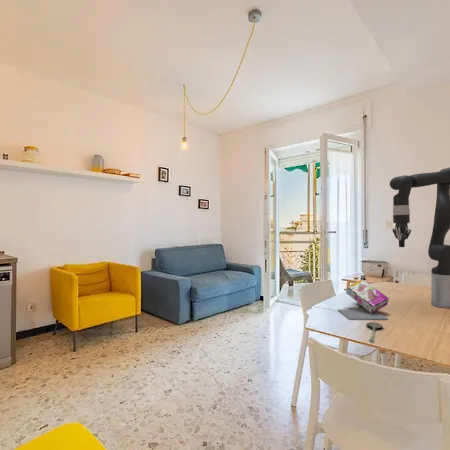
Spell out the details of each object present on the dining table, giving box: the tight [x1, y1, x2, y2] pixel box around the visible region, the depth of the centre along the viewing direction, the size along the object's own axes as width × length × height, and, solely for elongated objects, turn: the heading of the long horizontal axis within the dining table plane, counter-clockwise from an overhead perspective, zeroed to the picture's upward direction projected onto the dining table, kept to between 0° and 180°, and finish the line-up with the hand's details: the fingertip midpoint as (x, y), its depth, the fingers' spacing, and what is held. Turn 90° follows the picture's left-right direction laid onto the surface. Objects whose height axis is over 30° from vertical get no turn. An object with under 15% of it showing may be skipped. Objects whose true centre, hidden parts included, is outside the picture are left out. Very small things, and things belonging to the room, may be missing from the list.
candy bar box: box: [345, 278, 390, 314], centre depth 149 cm, size 11×5×16 cm
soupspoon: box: [366, 321, 384, 343], centre depth 120 cm, size 22×3×7 cm
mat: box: [337, 309, 389, 321], centre depth 142 cm, size 18×14×1 cm
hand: (401, 247), depth 154 cm, fingers closed
